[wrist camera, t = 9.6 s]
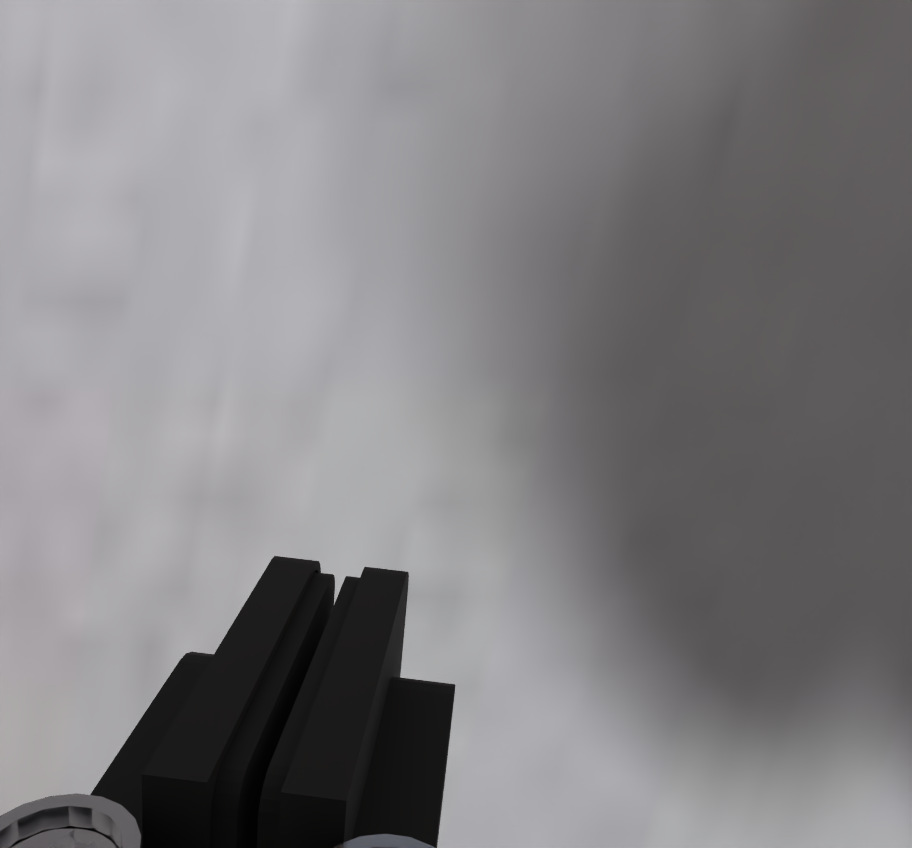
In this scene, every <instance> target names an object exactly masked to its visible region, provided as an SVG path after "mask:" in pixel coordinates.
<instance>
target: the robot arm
mask: <svg viewBox="0 0 912 848" xmlns="http://www.w3.org/2000/svg"><path fill="white" fill-rule="evenodd" d="M408 578H409V575H408V572H404V571H396V570H387V569H379V568H370V567H365V568H364V570H363V572H362V575H361V577H360V578H357V577H349V576H346V578H345V580H344V582H343V585H342V587H341V590H340V592H339V595H338V597H337V600H336V602H335V604H334V591H335V577H334V575H332V574H324V573H321V569H320V563H319V561H312V560H303V559H295V558H287V557H278V556H274V557H273V559H272V560H271V562H270V563H269V565H268V566H267V568H266V570H265V571H264V573H263V575H262V576H261V578H260V580H259V581H258V583H257V585H256V586H255V588H254V590H253V591H252V593H251V594H250V596H249V598H248V599H247V601H246V603H245V604H244V606H243V608H242V609H241V611H240V613H239V614H238V616H237V618H236V619H235V621H234V623H233V624H232V626H231V627H230V629H229V631H228V632H227V634H226V636H225V637H224V639H223V641H222V642H221V644H220V646H219V647H218V649H217V651H216V652H215V654H214V655H213V654H205V653H197V652H190V653H186V654H185V655H184V657H183V658H182V659H181V660H180V661H179V663H178V664H177V666H176V667H175V669H174V670H173V672H172V673H171V675H170V676H169V678H168V679H167V681H166V682H165V684H164V685H163V687H162V688H161V690H160V691H159V693H158V694H157V696H156V697H155V699H154V700H153V702H152V703H151V705H150V706H149V708H148V709H147V711H146V712H145V714H144V715H143V717H142V718H141V720H140V721H139V723H138V724H137V726H136V727H135V729H134V730H133V732H132V733H131V735H130V736H129V738H128V739H127V741H126V742H125V744H124V745H123V747H122V748H121V750H120V751H119V753H118V754H117V756H116V757H115V759H114V760H113V762H112V763H111V765H110V766H109V768H108V769H107V771H106V772H105V774H104V775H103V777H102V778H101V780H100V781H99V783H98V784H97V786H96V787H95V789H94V790H93V792H92V793H91V795H85V794H68V795H57V796H49V797H46V798H43V799H39V800H36V801H32V802H29V803H25V804H23V805H21V806H19V807H17V808H15V809H13V810H11V811H9V812H7V813H5V814H3V815H1V816H0V848H437V842H438V834H439V825H440V817H441V808H442V800H443V791H444V782H445V773H446V765H447V756H448V747H449V738H450V729H451V720H452V711H453V702H454V693H455V684H447V683H439V682H431V681H423V680H414V679H406V678H400V672H401V661H402V649H403V638H404V627H405V616H406V604H407V593H408Z"/></svg>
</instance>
